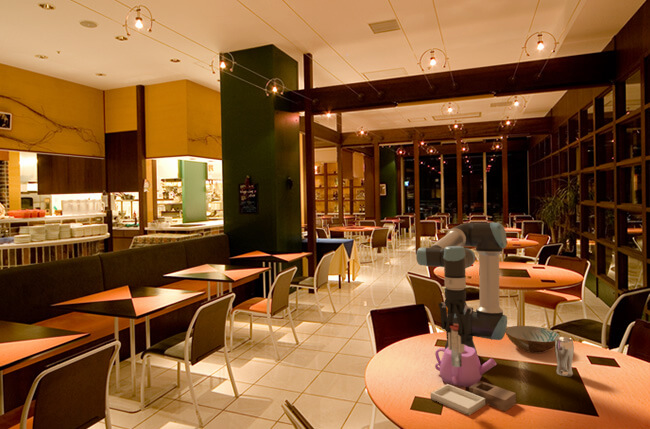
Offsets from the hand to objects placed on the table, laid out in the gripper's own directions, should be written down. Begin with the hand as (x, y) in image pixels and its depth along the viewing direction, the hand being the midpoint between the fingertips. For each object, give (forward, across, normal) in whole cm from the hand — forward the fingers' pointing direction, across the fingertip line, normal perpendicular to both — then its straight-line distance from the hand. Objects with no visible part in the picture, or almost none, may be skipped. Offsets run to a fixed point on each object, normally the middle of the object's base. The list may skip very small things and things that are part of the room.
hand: (456, 350), depth 149 cm
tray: (+20, 0, 0) cm, 20 cm away
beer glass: (+20, +16, +55) cm, 61 cm away
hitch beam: (+20, +8, +11) cm, 24 cm away
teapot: (+20, -9, +20) cm, 29 cm away
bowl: (+20, -5, +75) cm, 77 cm away
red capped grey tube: (+6, 0, 0) cm, 6 cm away
